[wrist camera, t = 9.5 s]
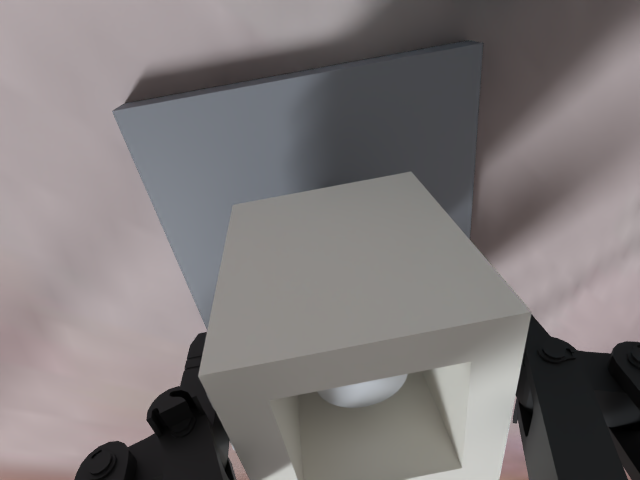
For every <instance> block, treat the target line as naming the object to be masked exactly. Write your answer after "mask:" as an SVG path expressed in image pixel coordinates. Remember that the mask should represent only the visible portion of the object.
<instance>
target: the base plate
mask: <svg viewBox="0 0 640 480" xmlns="http://www.w3.org/2000/svg"><path fill="white" fill-rule="evenodd" d="M482 54H483V43H480V42H474V41H463V42H457V43H452V44H447V45H441V46H436V47H430V48H425V49H419V50H414V51H408V52H403V53H397V54H392V55H387V56H381V57H376V58H370V59H365V60H359V61H354V62H348V63H343V64H338V65H332V66H327V67H321V68H316V69H310V70H305V71H299V72H294V73H289V74H283V75H278V76H272V77H267V78H261V79H256V80H250V81H245V82H240V83H234V84H229V85H223V86H218V87H212V88H207V89H201V90H196V91H191V92H185V93H180V94H174V95H169V96H163V97H158V98H152V99H147V100H142V101H136V102H131V103H125V104H123V105H121V106H120V107H118V108H116V109H115V110H113V111H112V112H113V114H114V117H115V119H116V121H117V124H118V126H119V128H120V131H121V133H122V135H123V137H124V140H125V142H126V144H127V147H128V149H129V151H130V154H131V156H132V158H133V160H134V163H135V165H136V167H137V170H138V172H139V174H140V177H141V179H142V181H143V183H144V186H145V188H146V190H147V193H148V195H149V197H150V200H151V202H152V204H153V206H154V209H155V211H156V213H157V216H158V218H159V220H160V223H161V225H162V227H163V229H164V232H165V234H166V236H167V239H168V241H169V243H170V246H171V248H172V250H173V252H174V255H175V257H176V259H177V262H178V264H179V266H180V269H181V271H182V273H183V276H184V278H185V280H186V282H187V285H188V287H189V289H190V292H191V294H192V296H193V299H194V301H195V303H196V305H197V308H198V310H199V312H200V315H201V317H202V319H203V322H204V324H205V326H206V328H207V330H208V325H209V320H210V315H211V310H212V305H213V300H214V295H215V290H216V285H217V280H218V275H219V270H220V266H221V261H222V256H223V251H224V246H225V241H226V236H227V231H228V226H229V221H230V216H231V211H232V206H233V205H235V204H241V203H246V202H251V201H257V200H262V199H267V198H273V197H278V196H283V195H288V194H294V193H299V192H304V191H310V190H315V189H320V188H326V187H331V186H336V185H342V184H347V183H352V182H358V181H363V180H368V179H374V178H379V177H384V176H390V175H395V174H400V173H406V172H412V173H413V174H414V175H415V176H416V178H417V179H418V180H419V181H420V182H421V183H422V185H423V186H424V187H425V188H426V189H427V190H428V192H429V193H430V194H431V195H432V196H433V197H434V199H435V200H436V201H437V202H438V203H439V204H440V206H441V207H442V208H443V209H444V210H445V211H446V213H447V214H448V215H449V216H450V217H451V218H452V220H453V221H454V222H455V223H456V224H457V225H458V227H459V228H460V229H461V230H462V231H463V232H464V234H465V235H466V236H467V237H468V238H469V239H470V230H471V216H472V201H473V186H474V172H475V157H476V142H477V128H478V113H479V98H480V84H481V69H482ZM407 375H408V374H404V375H399V376H394V377H389V378H384V379H378V380H373V381H368V382H363V383H358V384H353V385H347V386H342V387H337V388H332V389H327V390H322V391H317V392H318V394H319V395H320V396H321V397H322V398H323V399H324V400H325V401H327V402H329V403H331V404H333V405H336V406H340V407H346V408H360V407H367V406H371V405H374V404H377V403H380V402H382V401H384V400H386V399H388V398H389V397H391V396H392V395H394V394H395V393H396V392H397V391H398V390H399V389H400V388H401V387H402V386H403V384H404V382H405V381H406V378H407Z"/></svg>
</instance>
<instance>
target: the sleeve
mask: <svg viewBox="0 0 640 480" xmlns="http://www.w3.org/2000/svg"><path fill="white" fill-rule="evenodd" d="M531 313H532V312H531V310H530V309H529V308H528V307H527V306H526V305H525V304H524V302H523V301H522V300H521V299H520V298H519V297H518V295H517V294H516V293H515V292H514V291H513V290H512V288H511V287H510V286H509V285H508V284H507V283H506V281H505V280H504V279H503V278H502V277H501V276H500V274H499V273H498V272H497V271H496V270H495V269H494V267H493V266H492V265H491V264H490V263H489V262H488V260H487V259H486V258H485V257H484V256H483V255H482V253H481V252H480V251H479V250H478V249H477V248H476V246H475V245H474V244H473V243H472V242H471V241H470V239H469V238H468V237H467V236H466V235H465V234H464V232H463V231H462V230H461V229H460V228H459V227H458V225H457V224H456V223H455V222H454V221H453V220H452V218H451V217H450V216H449V215H448V214H447V213H446V211H445V210H444V209H443V208H442V207H441V206H440V204H439V203H438V202H437V201H436V200H435V199H434V197H433V196H432V195H431V194H430V193H429V192H428V190H427V189H426V188H425V187H424V186H423V185H422V183H421V182H420V181H419V180H418V179H417V178H416V176H415V175H414V174H413V173H412V172H406V173H400V174H395V175H390V176H384V177H379V178H374V179H368V180H363V181H358V182H352V183H347V184H342V185H336V186H331V187H326V188H320V189H315V190H310V191H304V192H299V193H294V194H288V195H283V196H278V197H273V198H267V199H262V200H257V201H251V202H246V203H241V204H235V205H233V206H232V211H231V216H230V221H229V226H228V231H227V236H226V241H225V246H224V251H223V256H222V261H221V266H220V270H219V275H218V280H217V285H216V290H215V295H214V300H213V305H212V310H211V315H210V320H209V325H208V330H207V335H206V340H205V344H204V349H203V354H202V359H201V364H200V369H199V374H198V377H199V379H200V381H201V383H202V385H203V387H204V389H205V391H206V393H207V395H208V397H209V399H210V401H211V403H212V405H213V407H214V409H215V411H216V413H217V415H218V417H219V419H220V421H221V423H222V425H223V427H224V429H225V431H226V433H227V435H228V437H229V439H230V441H231V443H232V445H233V447H234V449H235V451H236V453H237V455H238V457H239V459H240V461H241V463H242V465H243V467H244V469H245V471H246V473H247V475H248V477H249V479H250V480H499V478H500V473H501V468H502V462H503V457H504V452H505V447H506V442H507V437H508V431H509V426H510V421H511V416H512V411H513V406H514V400H515V395H516V390H517V385H518V380H519V375H520V369H521V364H522V359H523V354H524V349H525V344H526V338H527V333H528V328H529V323H530V318H531ZM404 374H408V375H407V378H406V381H405V382H404V384H403V386H402V387H401V388H400V389H399V390H398V391H397V392H396V393H395V394H394V395H392V396H391V397H389V398H388V399H386V400H384V401H382V402H380V403H377V404H374V405H371V406H367V407H360V408H346V407H340V406H336V405H333V404H331V403H329V402H327V401H325V400H324V399H323V398H322V397H321V396H320V395H319V394H318V392H317V391H322V390H327V389H332V388H337V387H342V386H347V385H353V384H358V383H363V382H368V381H373V380H378V379H384V378H389V377H394V376H399V375H404Z"/></svg>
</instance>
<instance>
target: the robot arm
mask: <svg viewBox="0 0 640 480" xmlns="http://www.w3.org/2000/svg"><path fill="white" fill-rule="evenodd" d="M206 335H207V332H205V333H200V334H198V335H197V337H196V338H195V340H194V341H193V342H192V344H191V345H190V348H189V352H188V357H187V361H186V365H185V371H184V373H183V377H182V381H181V385H180V386H178V387H175V388H171V389H169V390H167V391H165V392H164V393H162V394H161V395H159V396H158V397H157V398H156V399H155V400H154V402H153V403H152V404H151V406H150V408H149V410H148V412H147V419H146V420H147V422H148V423H149V425H150V426H151V428H152V429H153V431H154V432H155V434H153V435H151V436H150V437H148V438H146V439H144V440H142V441H140V442H138V443H136V444H134V445H132V446H130V447H127V446H126V445H125V444H124V443H122V442H119V441H114V442H108V443H106V444H104V445H101V446H99V447H98V448H97V449H95V450H94V451H93V452H91V453H90V454H89V455H88V456H87V457H86V459H85V460H84V461H83V462H82V463H81V465H80V467H79V469H78V471H77V474H76V476H75V480H236V477H235V474H234V470H233V467H232V463H231V461H230V459H229V458H228V450H229V441H230V439H229V437H228V435H227V433H226V431H225V429H224V427H223V425H222V423H221V421H220V419H219V417H218V415H217V413H216V411H215V409H214V407H213V405H212V403H211V401H210V399H209V397H208V395H207V393H206V391H205V389H204V387H203V385H202V383H201V381H200V379H199V377H198V374H199V369H200V364H201V359H202V354H203V349H204V344H205V340H206ZM516 397H517V399H516V404H515V409H514V415H513V423H517V420H518V423H519V428H520V434H521V439H522V444H523V450H524V455H525V460H526V466H527V471H528V476H529V480H628V479H627V476H626V474H625V471H624V468H625V470H626V471H627V473H628V475H629V476H630V478H631V479H632V480H640V342H628V341H626V342H623V343H619V344H617V345H616V346H615V347H614V348H613V350H612V353H611V354H609V353H596V352H584V351H578V350H576V349H575V348H574V347H572V346H571V345H570V344H569V343H567V342H565V341H563V340H560V339H558V338H554V337H551V336H550V335H549V334H548V333H547V332H546V331H545V329H544V328H543V327H542V326H541V325H540V324H539V322H538V321H537V320H536V319H535V318H534V317H533V315H532V314H531V318H530V323H529V328H528V333H527V338H526V344H525V349H524V354H523V359H522V364H521V369H520V375H519V380H518V385H517V390H516ZM230 443H231V441H230ZM231 445H232V443H231ZM232 447H233V445H232ZM233 449H234V447H233ZM234 450H235V449H234ZM622 465H623V466H622ZM623 467H624V468H623Z"/></svg>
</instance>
